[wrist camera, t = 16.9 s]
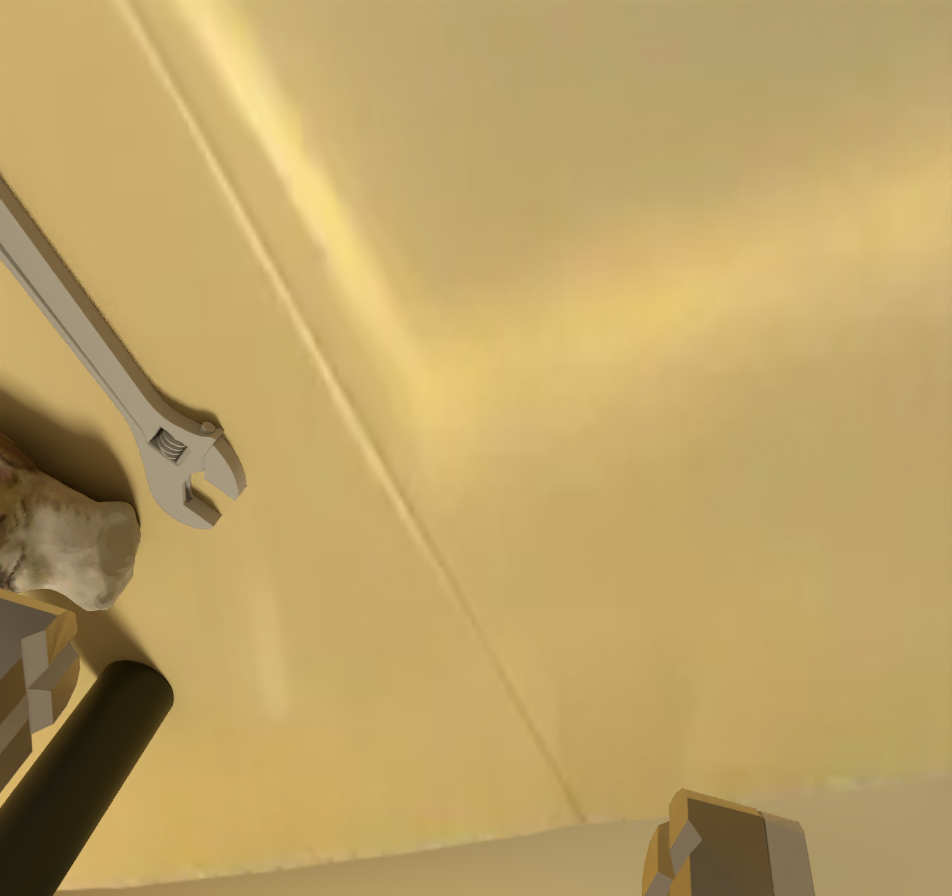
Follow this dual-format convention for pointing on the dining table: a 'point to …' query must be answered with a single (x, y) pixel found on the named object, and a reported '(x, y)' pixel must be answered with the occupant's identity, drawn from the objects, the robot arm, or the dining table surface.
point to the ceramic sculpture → (61, 536)
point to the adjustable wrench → (121, 377)
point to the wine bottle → (78, 778)
